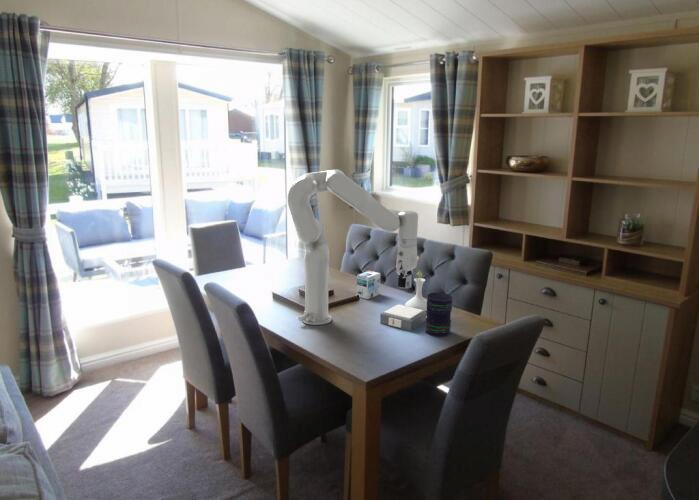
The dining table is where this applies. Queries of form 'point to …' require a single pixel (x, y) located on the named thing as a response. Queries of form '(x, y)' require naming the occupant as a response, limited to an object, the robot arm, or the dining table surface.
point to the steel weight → (408, 280)
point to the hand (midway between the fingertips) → (405, 284)
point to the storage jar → (438, 314)
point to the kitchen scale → (403, 317)
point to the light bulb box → (368, 284)
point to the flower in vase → (418, 294)
